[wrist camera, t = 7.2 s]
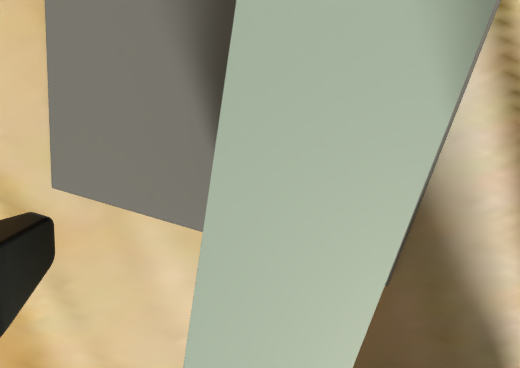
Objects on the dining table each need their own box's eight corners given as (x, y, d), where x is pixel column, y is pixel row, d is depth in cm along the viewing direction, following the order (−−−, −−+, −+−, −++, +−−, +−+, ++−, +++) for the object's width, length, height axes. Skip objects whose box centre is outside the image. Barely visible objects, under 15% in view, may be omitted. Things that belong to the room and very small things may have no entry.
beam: (328, 360, 17) (312, 470, 13) (218, 325, 17) (175, 423, 14) (493, -107, 10) (547, -129, 7) (305, -141, 11) (262, -181, 7)
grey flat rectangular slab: (56, 184, 23) (50, 188, 23) (45, -170, 17) (36, -173, 16) (387, 280, 21) (387, 287, 21) (528, -77, 15) (532, -78, 14)
